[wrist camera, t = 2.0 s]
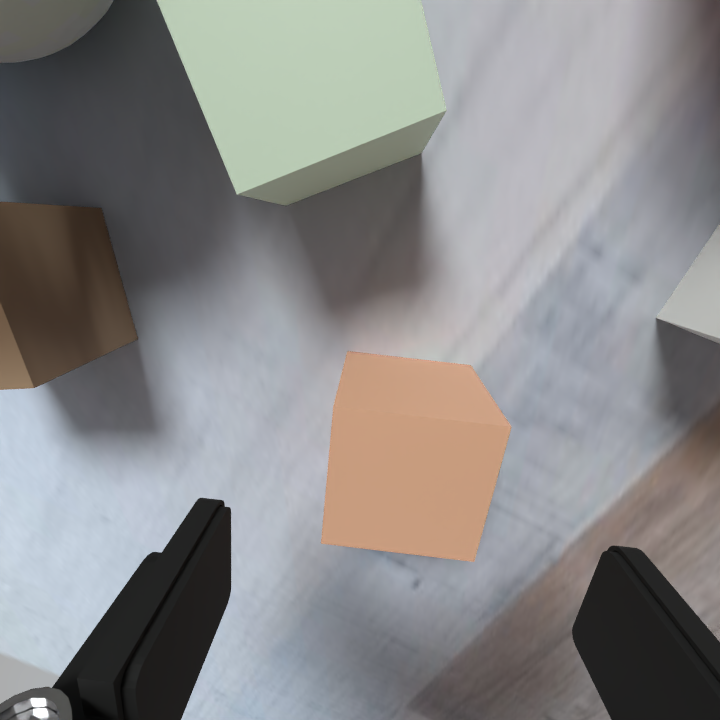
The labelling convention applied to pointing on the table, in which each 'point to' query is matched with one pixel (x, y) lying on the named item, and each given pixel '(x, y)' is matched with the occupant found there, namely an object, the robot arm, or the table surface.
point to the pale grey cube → (698, 295)
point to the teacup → (45, 26)
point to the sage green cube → (308, 87)
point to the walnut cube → (57, 292)
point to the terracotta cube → (411, 457)
